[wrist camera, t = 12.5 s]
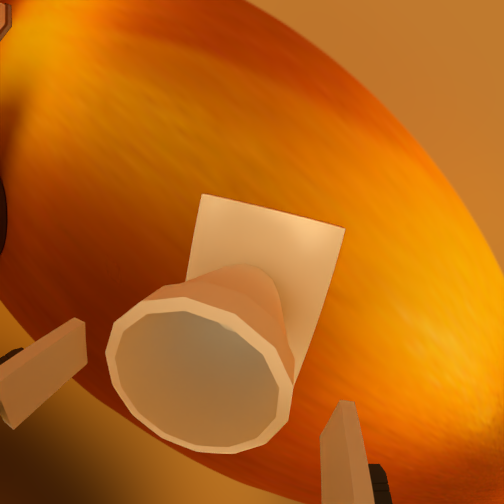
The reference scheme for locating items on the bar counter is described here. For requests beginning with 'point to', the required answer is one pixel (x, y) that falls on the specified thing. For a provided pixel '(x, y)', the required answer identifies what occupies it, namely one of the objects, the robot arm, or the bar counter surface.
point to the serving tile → (271, 257)
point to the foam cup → (207, 361)
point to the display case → (5, 19)
